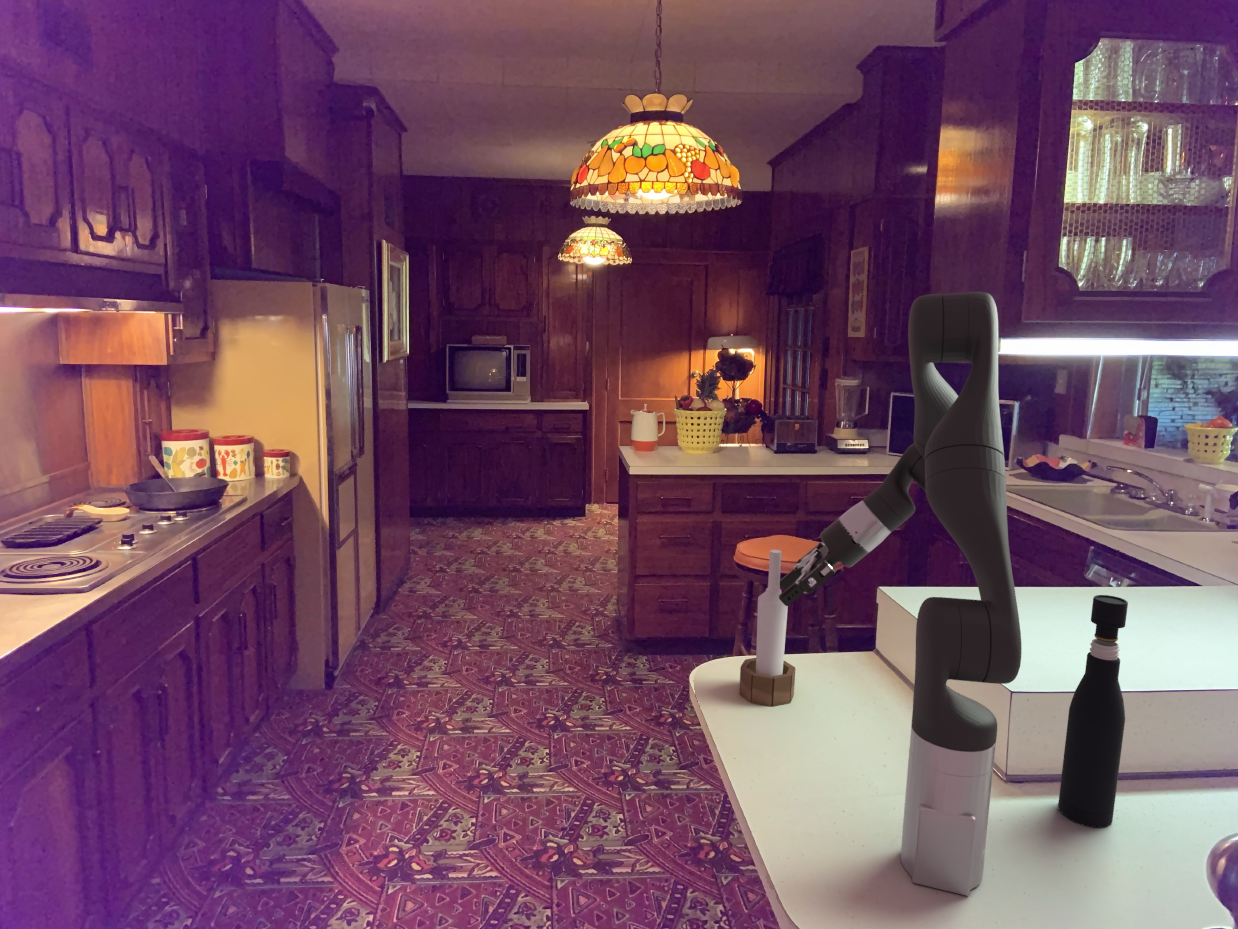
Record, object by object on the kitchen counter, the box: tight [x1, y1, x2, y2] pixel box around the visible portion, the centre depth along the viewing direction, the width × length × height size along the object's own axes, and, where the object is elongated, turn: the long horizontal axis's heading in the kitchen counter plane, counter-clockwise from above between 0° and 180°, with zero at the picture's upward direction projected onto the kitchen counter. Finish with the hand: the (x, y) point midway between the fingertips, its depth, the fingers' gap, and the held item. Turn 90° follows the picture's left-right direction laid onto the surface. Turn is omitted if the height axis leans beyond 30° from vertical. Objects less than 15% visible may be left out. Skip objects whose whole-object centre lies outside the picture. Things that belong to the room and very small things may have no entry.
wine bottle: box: [1057, 594, 1129, 828], centre depth 110 cm, size 6×6×30 cm
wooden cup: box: [738, 657, 796, 707], centre depth 147 cm, size 9×9×5 cm
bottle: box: [755, 549, 789, 676], centre depth 145 cm, size 5×5×25 cm
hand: (782, 594), depth 144 cm, fingers open, 8 cm apart
